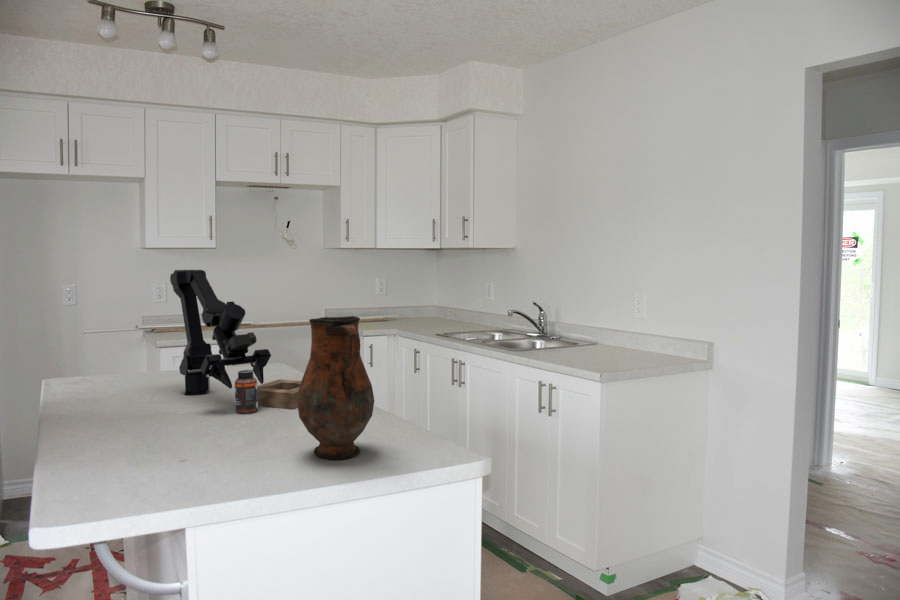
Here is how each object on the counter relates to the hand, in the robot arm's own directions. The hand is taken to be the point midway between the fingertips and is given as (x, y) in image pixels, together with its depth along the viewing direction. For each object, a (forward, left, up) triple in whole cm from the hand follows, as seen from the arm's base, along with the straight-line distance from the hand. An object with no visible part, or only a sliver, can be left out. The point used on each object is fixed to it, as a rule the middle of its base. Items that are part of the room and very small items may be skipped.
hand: (247, 385), depth 186 cm
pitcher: (+24, -45, -8) cm, 52 cm away
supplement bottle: (0, +1, -8) cm, 8 cm away
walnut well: (+10, +12, -7) cm, 17 cm away
